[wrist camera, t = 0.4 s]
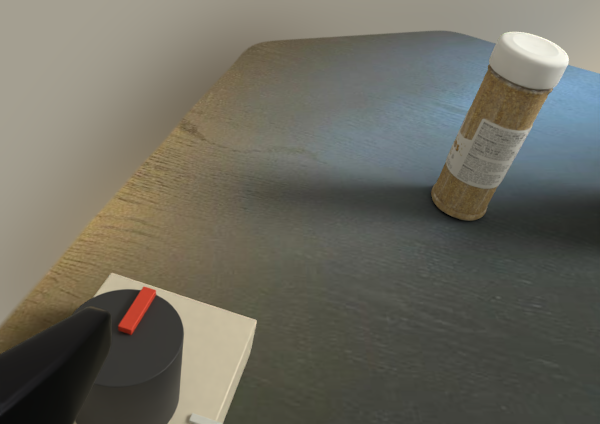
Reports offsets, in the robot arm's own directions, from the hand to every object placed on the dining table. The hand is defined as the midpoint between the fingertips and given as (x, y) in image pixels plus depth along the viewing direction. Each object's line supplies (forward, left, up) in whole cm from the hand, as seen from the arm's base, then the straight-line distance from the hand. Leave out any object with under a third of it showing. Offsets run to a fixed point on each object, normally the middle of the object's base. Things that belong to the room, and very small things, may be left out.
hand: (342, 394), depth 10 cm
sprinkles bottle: (+31, -8, -17) cm, 36 cm away
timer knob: (+6, +7, -14) cm, 17 cm away
